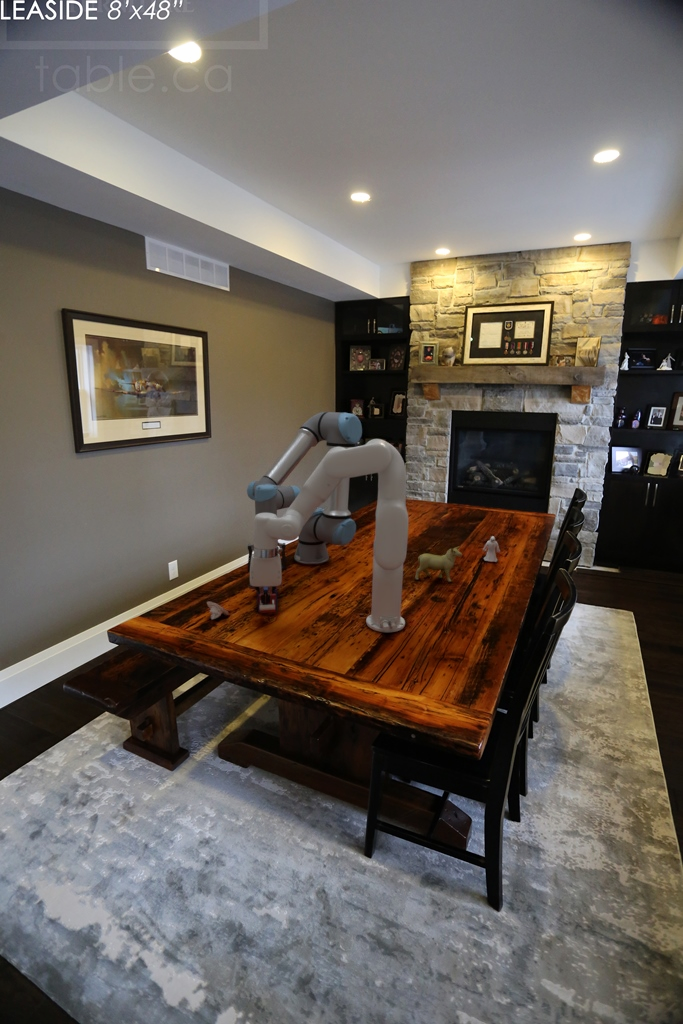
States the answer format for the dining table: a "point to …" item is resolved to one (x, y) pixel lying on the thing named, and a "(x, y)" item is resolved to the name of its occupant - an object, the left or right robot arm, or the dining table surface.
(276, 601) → the cabinet
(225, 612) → the seashell
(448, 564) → the toy
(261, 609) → the drawer
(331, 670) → the dining table surface
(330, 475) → the right robot arm
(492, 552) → the figurine
